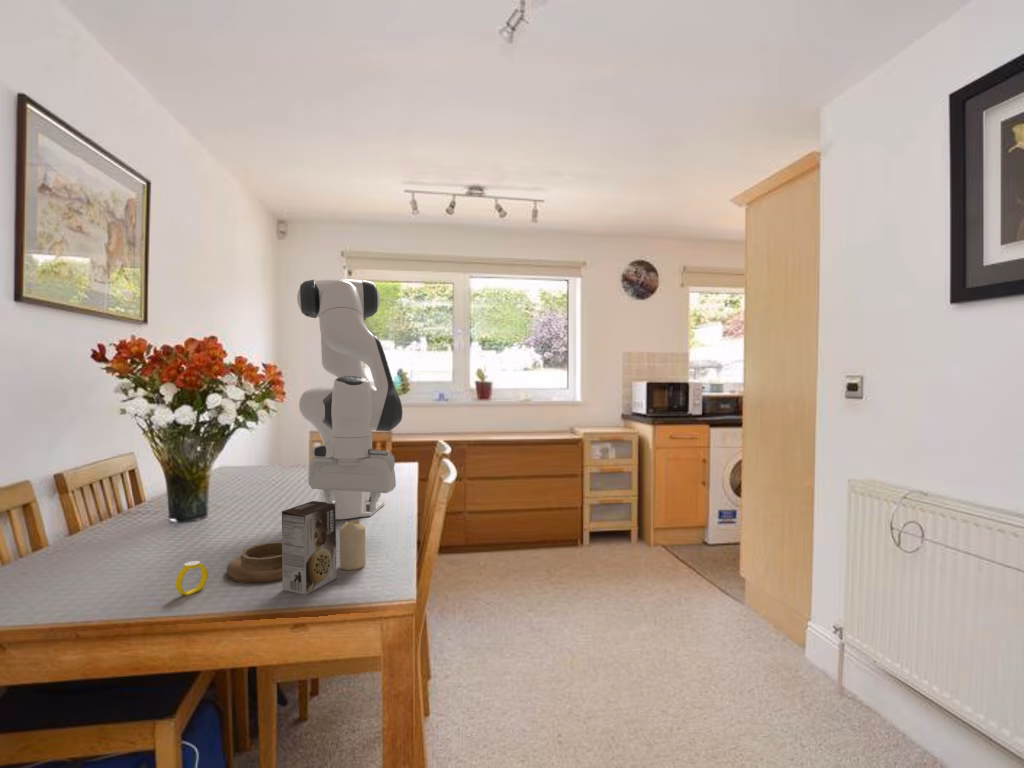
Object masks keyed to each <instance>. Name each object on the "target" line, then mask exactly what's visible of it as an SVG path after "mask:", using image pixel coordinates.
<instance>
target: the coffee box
mask: <svg viewBox="0 0 1024 768" xmlns="http://www.w3.org/2000/svg"><path fill="white" fill-rule="evenodd" d="M336 521H337V519H336V515H335V504H330V503H326V502H319V500H316V501H315V500H312V501H308V502H306V503H302V504H300V505H296V506H294V507H291V508H287V509H285V510H282V511H281V533H282V534H281V536H282V537H281V542H282V564H283V579H282V590H283V591H284V592H285V591H286V592H290V593H294V594H300V595H305V596H307V595H309V594H311V593H312V592H315V591H316V590H317V589H319V588H322V587H323V586H325V585H326V584H329V583H330V582H332V581H334V580H336V579H337V532H336V530H337V528H336V527H337V526H336V525H337V524H336Z"/></svg>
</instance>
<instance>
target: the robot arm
mask: <svg viewBox="0 0 1024 768" xmlns="http://www.w3.org/2000/svg"><path fill="white" fill-rule="evenodd" d="M296 295H297V297H296V300H297V304H298V307H299V309H300V312H301V314H303V315H304V316H305V317H308V318H313V319H317V318H318V319H319V320H318V321H319V331H320V344H321V345H320V346H321V349H320V350H321V364H322V367H323V369H324V370H325V371H326V372H327V373H329V374H331V375H333V376H334V377H336V378H335V379H334V381H333V386H318V387H311V388H308V389H305V391H304V392H303V393H302V395H300V399H299V402H298V403H299V404H298V408H299V411H300V413H301V416H302V417H303V418H304V419H305V420H307V422H309V423H310V424H311V425H312V426H313V427H314V428H315V430H316V431H317V432H318V435H319V436H320V439H321V443H322V444H319V445H316V446H313V447H312V448H310V456H311V457H312V458H311V459H310V461H309V465H308V473H307V474H308V477H307V481H308V485H309V487H310V488H311V489H312V490H319V499H318V501H319V502H326V503H330V504H335V515H336V520H350V519H355V518H361V517H362V518H363V517H371V516H373V515H374V514H375V513H377V511H378V510H380V509H381V508H382V507H383V506H384V505H385V501H384V500H381V499H380V497H381V494H389V493H390V492H393V491H394V490H395V488H396V486H397V484H396V483H397V482H396V472H395V461H396V459H395V456H394V454H393V453H391V452H389V450H388V449H387V450H386V449H382V450H379V449H373V431H378V432H391V431H393V430H394V429H395V428H396V427H397V426H398V425H399V424H400V422H402V420H403V405H402V401H401V399H400V396H399V393H398V391H397V389H396V386H395V384H394V380H393V377H392V374H391V371H390V367H389V365H388V361H387V357H386V354H385V352H384V348H383V345H382V344H381V343H382V342H381V340H380V339H379V337H378V336H376V335H374V334H373V333H372V332H371V331H370V330H369V329H368V326H367V325H366V323H365V321H366V319H368V318H370V317H373V316H374V315H375V314H376V313H377V312H378V309H379V306H380V302H381V298H380V297H381V295H380V293H379V290H378V288H377V285H376V283H374V282H372V281H370V280H365V279H362V280H358V279H347V278H337V279H334V278H333V279H320V280H315V279H310V280H305V281H303V282H302V283H301V284H300V285H299V289H298V291H297V294H296ZM362 362H363V363H364V364H365V365H367V367H368V368H369V369H370V370H369V371H370V373H371V377H372V379H373V383H374V384H373V383H372V382H371V381H370V380H369V378H368V377H367V375H366V373H365V371H364V369H363V365H362Z"/></svg>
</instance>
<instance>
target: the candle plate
mask: <svg viewBox="0 0 1024 768" xmlns="http://www.w3.org/2000/svg"><path fill="white" fill-rule="evenodd" d="M226 577H227V578H228V579H229V580H230V581H233V582H237V583H241V584H261V583H272V582H278V581H283V564H282V541H274V542H273V541H272V542H264V543H260V544H255V545H252V546H250V547H248V548H245V549H243V551H242V552H241V553H240V556H239V557H236V558H235V559H233V560H231V561H230V562H229V563H228V564H227V566H226Z"/></svg>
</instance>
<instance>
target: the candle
mask: <svg viewBox="0 0 1024 768" xmlns="http://www.w3.org/2000/svg"><path fill="white" fill-rule="evenodd" d="M365 566H366V526H365V525H364V524H363V523H361V522H360V521H359V520H350V521H345V523H343V525H342V526H341V527H340V528H339V567H340V569H342V570H345V571H354V570H355V571H356V570H358V569H362V568H364V567H365Z"/></svg>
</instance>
